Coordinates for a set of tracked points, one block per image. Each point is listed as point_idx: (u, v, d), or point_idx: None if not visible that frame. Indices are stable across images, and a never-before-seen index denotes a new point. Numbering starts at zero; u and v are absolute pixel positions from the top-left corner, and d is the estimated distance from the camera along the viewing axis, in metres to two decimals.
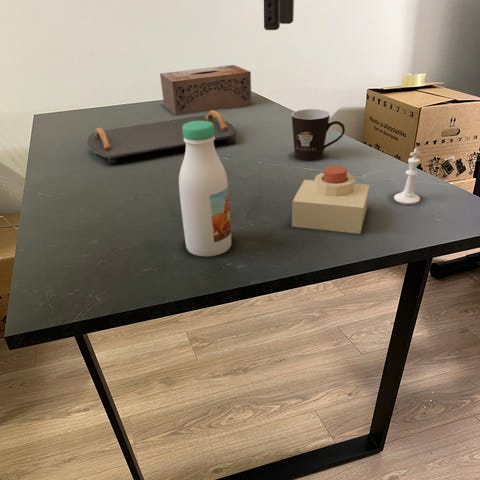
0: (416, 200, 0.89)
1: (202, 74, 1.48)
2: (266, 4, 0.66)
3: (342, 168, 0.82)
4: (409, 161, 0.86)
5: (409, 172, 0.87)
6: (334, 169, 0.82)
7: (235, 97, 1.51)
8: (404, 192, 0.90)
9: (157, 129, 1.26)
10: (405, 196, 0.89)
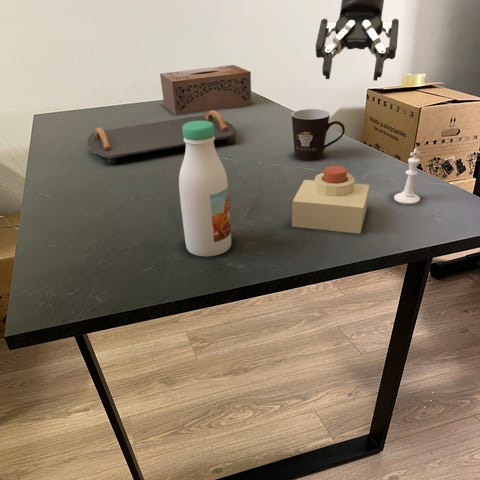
0: (416, 200, 0.89)
1: (202, 74, 1.48)
2: None
3: (342, 168, 0.82)
4: (409, 161, 0.86)
5: (409, 172, 0.87)
6: (334, 169, 0.82)
7: (235, 97, 1.51)
8: (404, 192, 0.90)
9: (157, 129, 1.26)
10: (405, 196, 0.89)
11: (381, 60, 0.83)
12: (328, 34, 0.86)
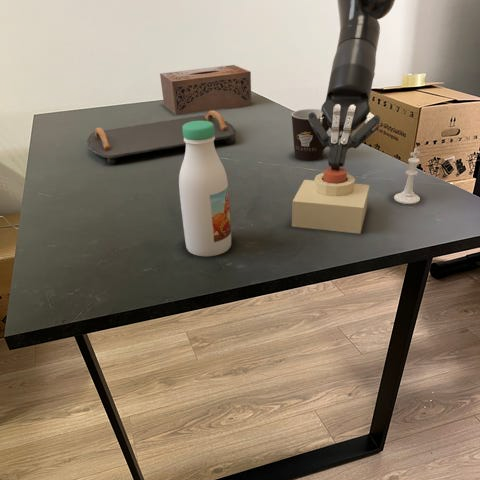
0: (416, 200, 0.89)
1: (202, 74, 1.48)
2: None
3: (342, 170, 0.83)
4: (409, 161, 0.86)
5: (409, 172, 0.87)
6: (334, 170, 0.82)
7: (235, 97, 1.51)
8: (404, 192, 0.90)
9: (157, 129, 1.26)
10: (405, 196, 0.89)
11: (343, 150, 0.81)
12: (321, 122, 0.84)
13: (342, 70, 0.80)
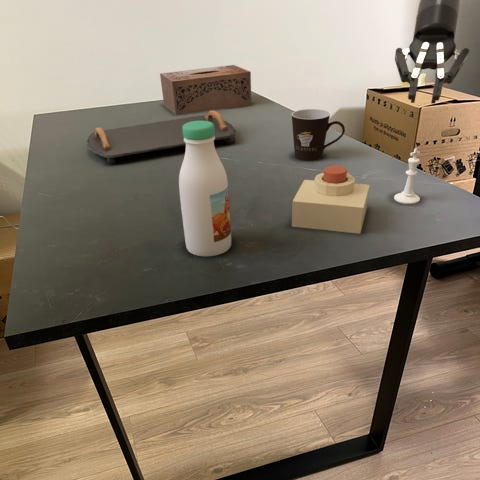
0: (416, 200, 0.89)
1: (202, 74, 1.48)
2: None
3: (342, 168, 0.82)
4: (409, 161, 0.86)
5: (409, 172, 0.87)
6: (334, 169, 0.82)
7: (235, 97, 1.51)
8: (404, 192, 0.90)
9: (157, 129, 1.26)
10: (405, 196, 0.89)
11: (439, 84, 0.88)
12: (406, 59, 0.91)
13: (431, 10, 0.88)
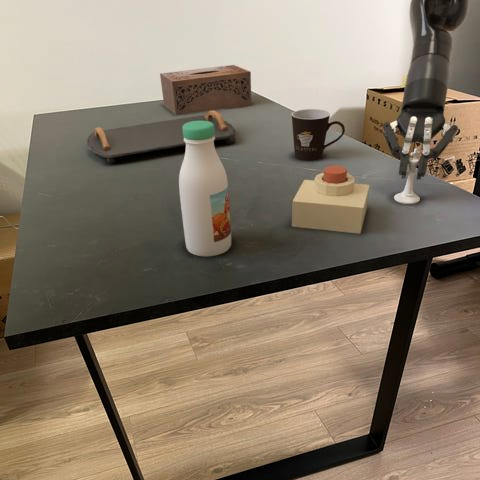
0: (416, 200, 0.89)
1: (202, 74, 1.48)
2: None
3: (342, 168, 0.82)
4: (409, 161, 0.86)
5: (409, 172, 0.87)
6: (334, 169, 0.82)
7: (235, 97, 1.51)
8: (404, 192, 0.90)
9: (157, 129, 1.26)
10: (405, 196, 0.89)
11: (425, 161, 0.85)
12: (394, 133, 0.88)
13: (419, 84, 0.84)
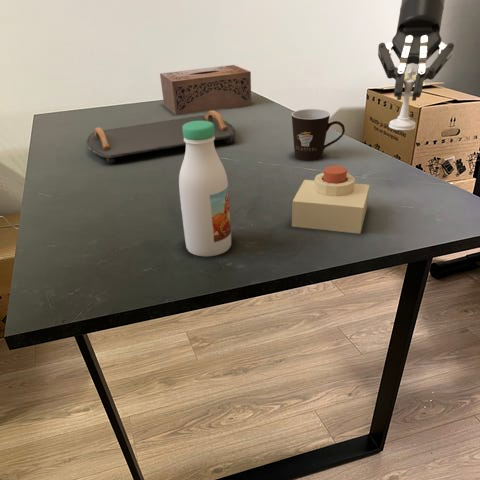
0: (412, 124, 0.88)
1: (202, 74, 1.48)
2: None
3: (342, 168, 0.82)
4: (405, 82, 0.85)
5: (405, 94, 0.86)
6: (334, 169, 0.82)
7: (235, 97, 1.51)
8: (400, 116, 0.88)
9: (157, 129, 1.26)
10: (401, 120, 0.88)
11: (420, 81, 0.83)
12: (390, 54, 0.86)
13: (415, 1, 0.83)
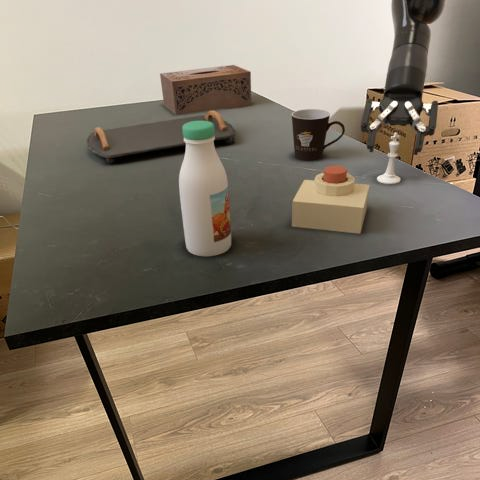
0: (397, 180, 0.97)
1: (202, 74, 1.48)
2: None
3: (342, 168, 0.82)
4: (390, 144, 0.94)
5: (390, 154, 0.95)
6: (334, 169, 0.82)
7: (235, 97, 1.51)
8: (386, 173, 0.97)
9: (156, 129, 1.26)
10: (387, 177, 0.97)
11: (421, 137, 0.92)
12: (372, 112, 0.95)
13: (399, 71, 0.92)
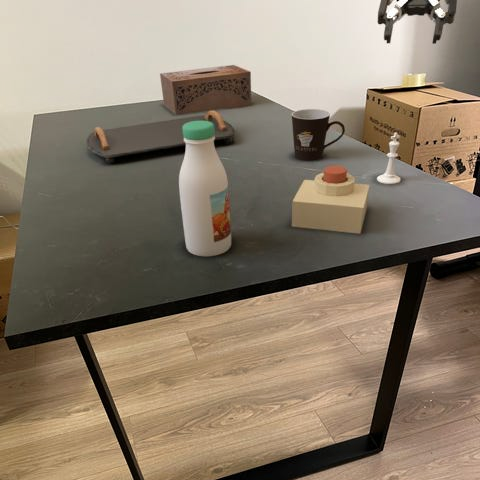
0: (397, 180, 0.97)
1: (202, 74, 1.48)
2: None
3: (342, 168, 0.82)
4: (390, 144, 0.94)
5: (390, 154, 0.95)
6: (334, 169, 0.82)
7: (235, 97, 1.51)
8: (386, 173, 0.97)
9: (156, 129, 1.26)
10: (387, 177, 0.97)
11: (440, 24, 0.89)
12: (390, 2, 0.93)
13: None
